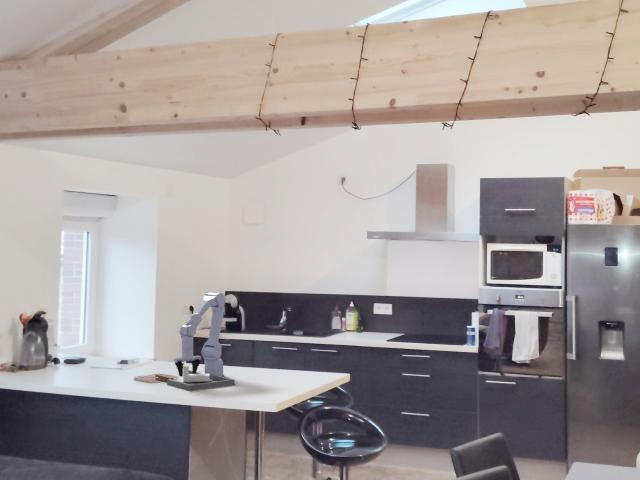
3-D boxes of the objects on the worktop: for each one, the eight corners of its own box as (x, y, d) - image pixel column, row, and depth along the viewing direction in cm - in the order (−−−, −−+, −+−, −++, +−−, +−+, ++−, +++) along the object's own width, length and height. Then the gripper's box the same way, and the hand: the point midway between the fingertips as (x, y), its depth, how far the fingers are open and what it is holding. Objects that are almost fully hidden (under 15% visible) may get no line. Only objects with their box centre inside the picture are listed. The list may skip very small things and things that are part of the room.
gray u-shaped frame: (210, 378, 396) (210, 373, 396) (234, 384, 378) (234, 379, 378) (167, 384, 379) (167, 379, 379) (190, 390, 362) (190, 385, 362)
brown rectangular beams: (189, 374, 407) (189, 370, 407) (205, 378, 395) (205, 374, 395) (155, 379, 394) (155, 374, 394) (170, 383, 382) (170, 378, 382)
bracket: (183, 383, 381) (183, 368, 381) (183, 381, 388) (183, 366, 388) (209, 382, 383) (209, 367, 383) (209, 380, 390) (209, 365, 390)
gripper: (195, 346, 396) (195, 372, 396) (171, 349, 387) (171, 375, 387) (203, 347, 391) (203, 374, 391) (178, 350, 382) (178, 377, 382)
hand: (187, 375), depth 389 cm, fingers open, 7 cm apart
